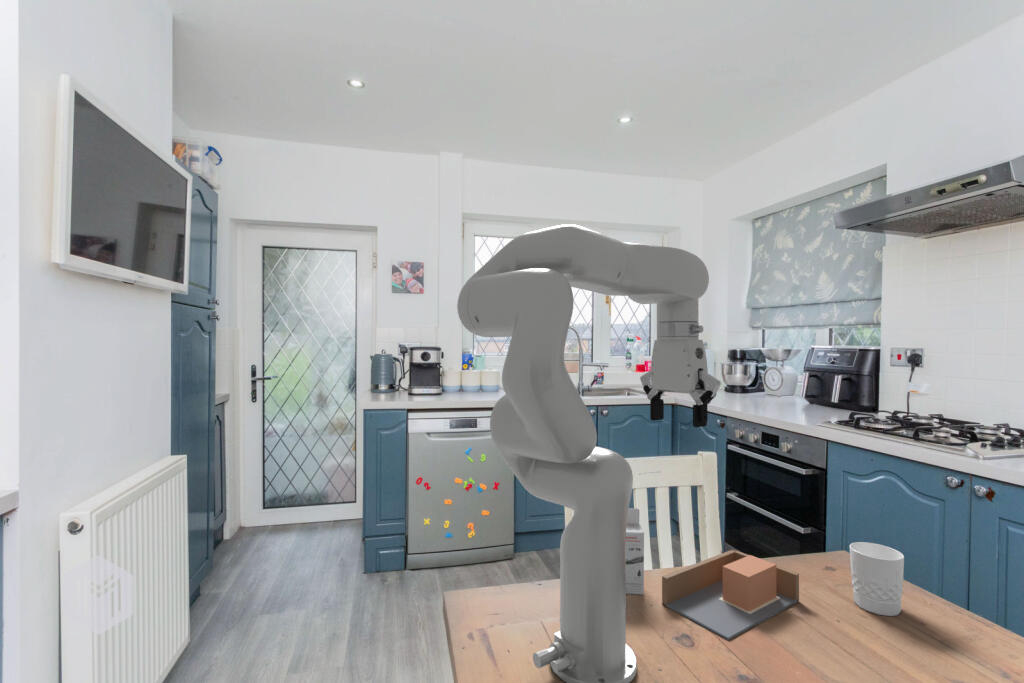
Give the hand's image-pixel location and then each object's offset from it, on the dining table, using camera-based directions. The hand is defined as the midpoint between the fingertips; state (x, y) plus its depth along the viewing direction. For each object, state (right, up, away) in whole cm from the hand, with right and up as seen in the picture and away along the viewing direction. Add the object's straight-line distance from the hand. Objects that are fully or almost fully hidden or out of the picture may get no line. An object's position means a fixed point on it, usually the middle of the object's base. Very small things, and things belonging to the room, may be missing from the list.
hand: (677, 423), depth 91 cm
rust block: (+12, -32, -2) cm, 34 cm away
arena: (+8, -32, -2) cm, 33 cm away
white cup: (+35, -33, -4) cm, 48 cm away
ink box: (-10, -33, +2) cm, 34 cm away
